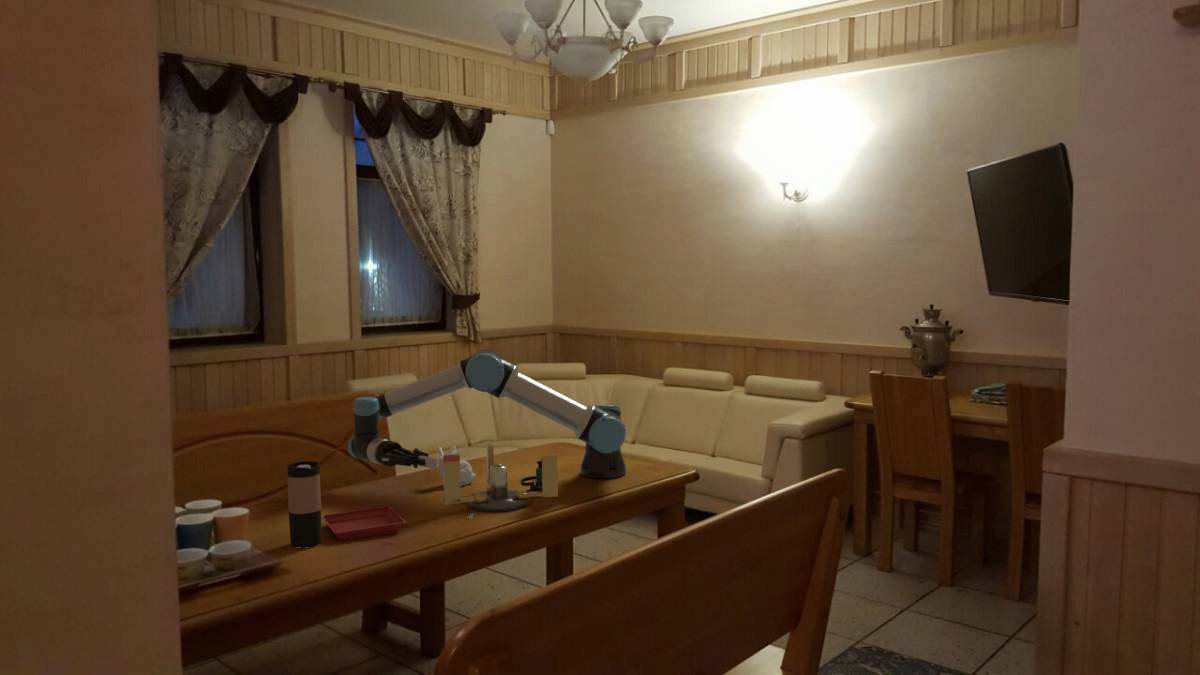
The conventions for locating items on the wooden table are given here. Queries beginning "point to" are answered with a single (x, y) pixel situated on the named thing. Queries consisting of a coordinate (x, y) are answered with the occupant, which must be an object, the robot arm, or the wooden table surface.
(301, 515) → the travel mug
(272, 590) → the wooden table surface
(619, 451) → the robot arm
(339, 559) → the wooden table surface
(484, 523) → the wooden table surface
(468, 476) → the rabbit
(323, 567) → the wooden table surface
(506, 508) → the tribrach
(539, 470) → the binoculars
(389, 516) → the plant saucer
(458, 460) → the beige u-shaped piece
